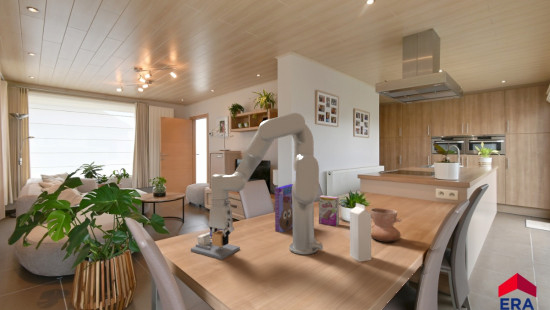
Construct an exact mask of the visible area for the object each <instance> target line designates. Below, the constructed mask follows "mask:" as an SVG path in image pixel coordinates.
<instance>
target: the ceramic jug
mask: <svg viewBox="0 0 550 310" xmlns="http://www.w3.org/2000/svg"><path fill="white" fill-rule="evenodd" d="M370 213H371V220H372V222H373V223H374V224H373V225H371V239H374V240H376V241H379V242H386V243H389V242H395V241H397V240H399V239H400V238H401V235H402V234H401V232H400V230H398V228H396V227H394V225H395V223H401V222H403V220H402V219H400V218H397V216H398V211H397V210H394V209H390V208H389V209H388V208H382V207H381V208H380V207H378V208H376V207H374V208H373V207H372V208H370Z"/></svg>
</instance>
